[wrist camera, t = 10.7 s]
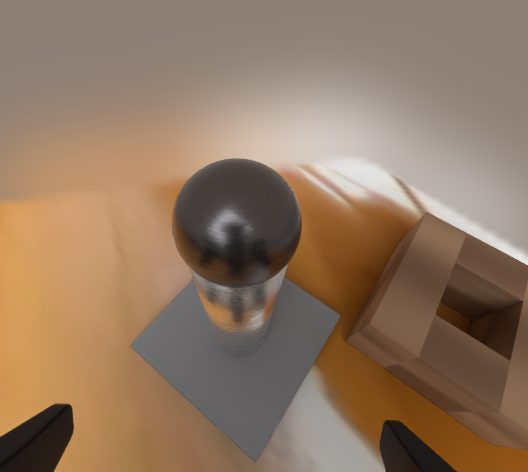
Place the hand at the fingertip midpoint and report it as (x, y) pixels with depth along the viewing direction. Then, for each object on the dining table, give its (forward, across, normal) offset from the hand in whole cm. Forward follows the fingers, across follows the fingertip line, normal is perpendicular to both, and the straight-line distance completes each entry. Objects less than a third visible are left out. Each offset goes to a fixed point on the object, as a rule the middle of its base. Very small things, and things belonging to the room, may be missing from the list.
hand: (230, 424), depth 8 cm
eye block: (+10, -13, +2) cm, 16 cm away
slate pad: (+9, 0, +3) cm, 9 cm away
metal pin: (+9, 0, +2) cm, 9 cm away
